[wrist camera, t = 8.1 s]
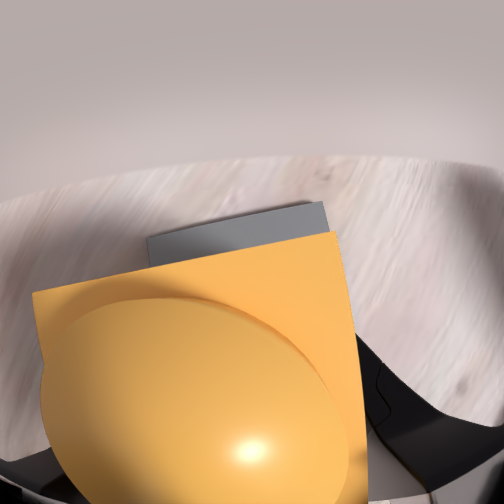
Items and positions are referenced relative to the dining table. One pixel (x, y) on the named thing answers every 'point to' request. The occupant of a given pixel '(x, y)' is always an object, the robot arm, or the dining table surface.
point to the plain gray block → (237, 234)
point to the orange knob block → (208, 380)
